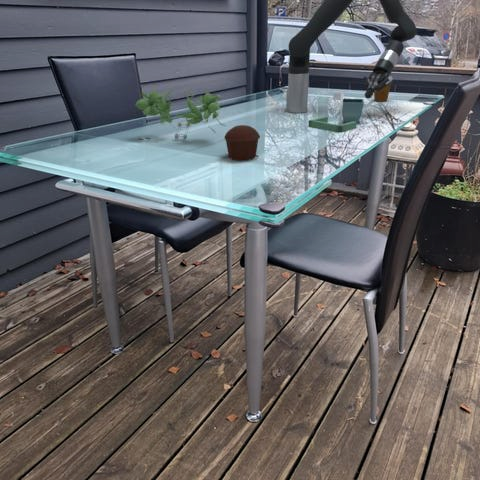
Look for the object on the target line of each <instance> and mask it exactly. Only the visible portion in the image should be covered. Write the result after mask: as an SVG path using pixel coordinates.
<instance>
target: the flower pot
mask: <svg viewBox="0 0 480 480" xmlns="http://www.w3.org/2000/svg"><path fill="white" fill-rule="evenodd" d="M364 104H365V101H364V99H363V98H343V106H342V119H343V122H344V124H345V123H349V122H353V121H355V122H357V124H358V123H359V122H360V120H361V118H362V114H363V111H364Z"/></svg>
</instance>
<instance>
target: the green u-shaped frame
mask: <svg viewBox="0 0 480 480" xmlns="http://www.w3.org/2000/svg"><path fill="white" fill-rule="evenodd" d="M332 93H333V95H332V99H333V100H335V101H340V108H339V121H338V122H339V123H338V124H335V123H331V122H329V120H328V119H329V116H321V117H318V118H313V119H309V120H308V125H307V127H308V128H309V127H310V128H314V129H318V130H319V129H320V130H324V131H329V132H335V133H339V132H341V133H344V132H347V131H348V132H349V131H350V130H351V131H352V130H355V129H357V124H358V123H357V122H355V121H353V122H349V123H345V122H344V123H342V119H343V116H342V106H343V99H344V93H340V92H332Z"/></svg>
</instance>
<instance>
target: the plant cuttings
mask: <svg viewBox="0 0 480 480" xmlns="http://www.w3.org/2000/svg"><path fill="white" fill-rule="evenodd" d="M166 92H167V94H166ZM188 92H190V94H191V95H192V96H190V97H189V96H188ZM172 94H173V90H170V89H167V90H166V91H165V92H163V93H162V94H161V93H160V92H157V90H152V91H151V92H150V93H149V94H148V95H147V93H146V92H145V91H142V92H141V98H140V99H138V100H137V101H136V102H135V107H136V108H138V110H140V112H142V114H143V117H144V116H147V115H149V116H152V117H154V116H155V117H156V116H157V115H159V116H160V117H161V118H159V122H160V125H164V124H165V123H164V122H167V123H169V124H172V123H173V120H174V118H173V117H172V115H173V114H172V111H171V101H172V100H171V97H170V95H172ZM184 94H185V97H186V98H187V100H186V101H187V102H185V109H186V110H187V112H185V113H183V114H174V116H176V117H179V118H180V117H181V118H184V119H185V120H184V119H182V120H180V121H178V122H177V127H178V128H177V133H175V134H174V138H175V140H177V139H178V141H179V142H183V141H185V140H187V138H188V136H187V135H188V130H189V129H188V128H190V127H191V126H192V125H197V124H199V123H201V122H202V123H203V124H206V123H208V121H209V118H210V117H211V116H212V119H213V120H215V119H216V120H217V122H218V123H219V125H221V126H222V127H226V126H227V125H226V124H223V123H221V122H220V121H219V119H218V118H217V117H218V116H220V115H219V110H220V108H221V105H220V103H219V102H218V101H216V100H219V101H222V96H221V95H220V94H218V95H213V94H211V93H209V92H205V94H204V95H203V96H202V95H199V98H198V99H196V100H194V101H195V102H194V101H193V100H191V99H192V98H193V97H194V96H195V94H194V93H193V92H192V91H191V90H188V91H186V90H184ZM163 96H164V97H165V98H163ZM143 97H144V98H143ZM168 98H169V100H168ZM198 102H199V103H201V104H202V105H201V106H200V108H198V107H197V106H196V105H195V103H196V104H198ZM186 106H187V107H188V108H187V107H186ZM141 110H142V111H141ZM200 110H201V111H203V114H202V112H201V111H200ZM204 120H205V121H204ZM183 121H184V122H186V124H185V123H183ZM182 126H183V127H182ZM184 126H186V127H184ZM172 127H173V128H174V129H176V127H175V126H174V125H172ZM209 128H210V130H211V131H213V132H214V133H215V134H217V132H216V131H215V129H213V128H212V127H211V126H209ZM181 129H185V132H184V134H180V133H181V131H180V130H181ZM179 138H182V140H180V139H179Z"/></svg>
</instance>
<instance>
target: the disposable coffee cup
mask: <svg viewBox="0 0 480 480" xmlns="http://www.w3.org/2000/svg"><path fill="white" fill-rule="evenodd" d="M388 79H389V80H390V84H389V85H387V86H386V87H384V88H383V89H381V90H380V91H375V92H374V93H373V95H374V97H373V98H374V99H373V101H374V102H375V101H376V102H377V103H387V102H388V99H389V94H390V91H391V85H392V83H393V82H392V81H393V80H394V79H393V76H391V75H390V76H389V77H388ZM381 86H382V85H381ZM381 86H380V87H381ZM376 102H375V103H376Z"/></svg>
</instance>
